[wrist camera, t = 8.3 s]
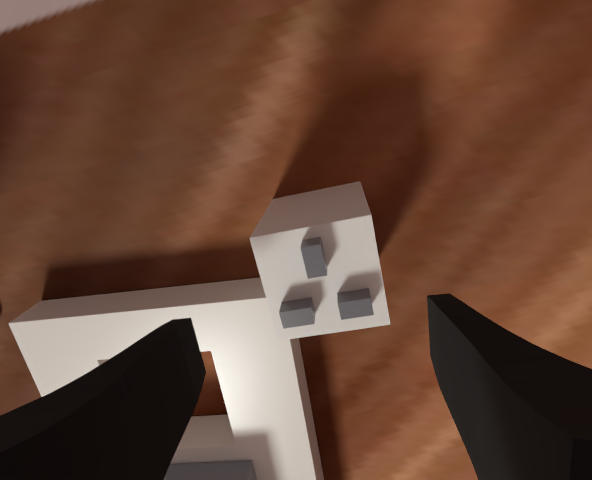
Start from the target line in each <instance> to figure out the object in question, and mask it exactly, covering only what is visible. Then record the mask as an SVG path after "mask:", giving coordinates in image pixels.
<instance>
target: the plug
mask: <svg viewBox="0 0 592 480" xmlns="http://www.w3.org/2000/svg"><path fill="white" fill-rule="evenodd" d="M249 239H250V242H251V246H252V249H253V253H254V256H255V260H256V263H257V267H258V271H259V274H260V278H261V281H262V285H263V288H264V292H265V295H266V299H267V303H268V306H269V310H270V313H271V317H272V320H273V324H274V327H275V331H276V335H277V338H278V341H281V340H288V339H295V338H301V337H308V336H315V335H322V334H329V333H336V332H342V331H349V330H356V329H363V328H370V327H376V326H383V325H390V320H389V314H388V308H387V302H386V296H385V291H384V285H383V279H382V273H381V268H380V262H379V256H378V250H377V244H376V239H375V233H374V227H373V221H372V215H371V212H370V209H369V206H368V203H367V200H366V197H365V194H364V191H363V188H362V185H361V182H360V181H358V182H353V183H348V184H344V185H339V186H334V187H329V188H324V189H319V190H314V191H310V192H305V193H300V194H295V195H290V196H285V197H280V198H275V199H272V201H271V203H270V204H269V206H268V208H267V209H266V211H265V213H264V214H263V216H262V218H261V219H260V221H259V223H258V224H257V226H256V228H255V230H254V231H253V233H252V235H251V236H250V238H249Z"/></svg>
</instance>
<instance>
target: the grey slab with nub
mask: <svg viewBox="0 0 592 480" xmlns="http://www.w3.org/2000/svg"><path fill="white" fill-rule="evenodd" d="M164 480H257V478H256V474H255V470H254V467H253V463H252V461H236V462H212V463H188V464H170V465H169V468H168V470H167V473H166V475H165V478H164Z"/></svg>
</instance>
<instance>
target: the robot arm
mask: <svg viewBox="0 0 592 480" xmlns="http://www.w3.org/2000/svg"><path fill="white" fill-rule="evenodd" d="M427 301H428V319H429V338H430V356H431V359H432V363H433V366H434V370H435V374H436V377H437V380H438V384H439V387H440V389H441V392H442V394H443V396H444V399H445V401H446V403H447V406H448V408H449V410H450V413H451V415H452V417H453V419H454V422H455V424H456V426H457V429H458V431H459V433H460V436H461V438H462V440H463V442H464V445H465V447H466V449H467V452H468V454H469V456H470V459H471V461H472V464H473V466H474V469H475V472H476V474H477V477H478V480H592V369H590V368H587V367H585V366H582V365H580V364H577V363H575V362H572V361H570V360H567V359H565V358H563V357H560V356H558V355H556V354H554V353H551V352H549V351H547V350H545V349H542V348H540V347H538V346H536V345H534V344H532V343H530V342H528V341H526V340H525V339H523V338H521V337H519V336H517V335H515V334H513V333H512V332H510V331H508V330H506V329H505V328H503V327H501V326H499V325H498V324H496V323H494V322H493V321H491V320H490V319H488V318H486V317H485V316H483V315H482V314H480V313H479V312H477V311H475V310H474V309H472V308H471V307H469V306H468V305H466V304H465V303H463V302H462V301H460V300H459V299H457V298H456V297H454V296H453V295H451V294H439V295H429V296H427ZM205 374H206V370H205V367H204V363H203V359H202V356H201V352H200V349H199V345H198V341H197V338H196V334H195V330H194V327H193V323H192V320H191V318H182V319H173V320H171V321H169V322H167V323H165V324H163V325H161V326H160V327H158V328H157V329H155V330H153V331H152V332H150V333H149V334H147V335H146V336H144V337H143V338H141V339H140V340H138V341H137V342H135V343H134V344H132V345H131V346H129V347H128V348H126V349H125V350H123V351H122V352H120V353H118V354H117V355H115V356H114V357H112V358H110V359H109V360H107V361H106V362H104V363H102V364H101V365H99V366H98V367H96V368H94V369H93V370H91V371H90V372H88V373H86V374H84V375H83V376H81V377H79V378H77V379H76V380H74V381H72V382H70V383H68V384H66V385H65V386H63V387H61V388H59V389H57V390H55V391H53V392H51V393H49V394H47V395H45V396H43V397H41V398H39V399H36V400H34V401H32V402H30V403H28V404H25V405H23V406H21V407H19V408H17V409H14V410H12V411H10V412H8V413H6V414H3V415H1V416H0V480H164V478H165V475H166V473H167V470H168V468H169V465H170V463H171V461H172V459H173V456H174V454H175V452H176V450H177V448H178V445H179V443H180V441H181V439H182V436H183V434H184V432H185V430H186V427H187V425H188V423H189V421H190V418H191V416H192V414H193V411H194V409H195V407H196V404H197V402H198V399H199V395H200V392H201V389H202V385H203V381H204V377H205Z"/></svg>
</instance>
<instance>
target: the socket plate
mask: <svg viewBox="0 0 592 480" xmlns="http://www.w3.org/2000/svg"><path fill="white" fill-rule="evenodd" d="M182 318H191V320H192V323H193V327H194V330H195V334H196V338H197V341H198V345H199V349H200V352H202V351H211V353H212V357H213V360H214V364H215V368H216V372H217V375H218V379H219V383H220V387H221V391H222V394H223V398H224V402H225V406H226V409H227V413H228V414H227V415H210V416H193V417H191V418H190V421H189V423H188V425H187V427H186V430H185V432H184V434H183V436H182V439H181V441H180V443H179V445H178V448H177V450H176V452H175V454H174V456H173V459H172V461H171V463H170V464H188V463H212V462H236V461H252V463H253V467H254V470H255V474H256V478H257V480H324V476H323V471H322V465H321V459H320V454H319V448H318V443H317V437H316V432H315V426H314V420H313V415H312V409H311V404H310V398H309V392H308V387H307V381H306V376H305V370H304V364H303V359H302V353H301V348H300V342H299V338H295V339H288V340H281V341H278V338H277V335H276V331H275V327H274V324H273V320H272V317H271V313H270V310H269V306H268V303H267V299H266V295H265V292H264V288H263V285H262V281H261V278H250V279H241V280H232V281H222V282H213V283H203V284H194V285H185V286H175V287H166V288H156V289H147V290H138V291H128V292H119V293H110V294H100V295H91V296H81V297H72V298H63V299H53V300H44V301H40V302H38V303H37V304H36V305H34V306H33V307H31V308H30V309H28V310H27V311H25V312H24V313H23V314H21V315H20V316H18V317H17V318H15V319H14V320H12V321H11V322H10V323H9V326H10V328H11V330H12V332H13V334H14V337H15V339H16V341H17V343H18V346H19V348H20V350H21V352H22V354H23V357H24V359H25V361H26V363H27V366H28V368H29V370H30V372H31V374H32V377H33V379H34V381H35V383H36V385H37V388H38V390H39V392H40V394H41V397H43V396H45V395H47V394H49V393H51V392H53V391H55V390H57V389H59V388H61V387H63V386H65V385H66V384H68V383H70V382H72V381H74V380H76V379H77V378H79V377H81V376H83V375H84V374H86V373H88V372H90V371H91V370H93V369H94V368H96V367H98V366H99V365H101V364H102V363H104V362H106V361H107V360H109V359H110V358H112V357H114V356H115V355H117V354H118V353H120V352H122V351H123V350H125V349H126V348H128V347H129V346H131V345H132V344H134V343H135V342H137V341H138V340H140V339H141V338H143V337H144V336H146V335H147V334H149V333H150V332H152V331H153V330H155V329H157V328H158V327H160V326H161V325H163V324H165V323H167V322H169V321H171V320H173V319H182Z"/></svg>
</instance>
